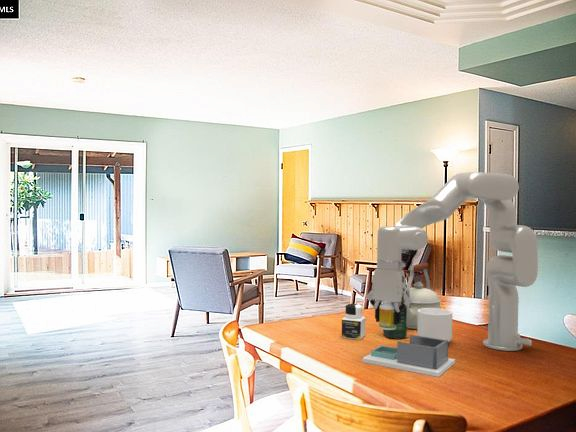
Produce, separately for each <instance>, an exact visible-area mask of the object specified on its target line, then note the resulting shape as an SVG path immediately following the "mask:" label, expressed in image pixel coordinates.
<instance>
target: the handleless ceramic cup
mask: <svg viewBox="0 0 576 432" xmlns="http://www.w3.org/2000/svg"><path fill="white" fill-rule="evenodd" d="M416 330H417V331H416V332H417V335H416V336H422V337H428V338H435V339H441V340H448V344H449V343H450V342H451V341H452V338H453V312H452V310H448V309H445V308H441V309H438V308H423V309H419V310H418V326H417V329H416Z"/></svg>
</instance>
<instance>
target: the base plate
mask: <svg viewBox="0 0 576 432" xmlns="http://www.w3.org/2000/svg"><path fill="white" fill-rule="evenodd" d="M361 362H362V363H365V364H370V365H375V366H382V367H385V368H389V369H390V368H391V369H394V370H395V369H396V370H401V371H406V372H411V373H416V374H420V375H426V376H432V377H437V378H439V377H441V376H442V375H443V374H444V373H445V372H447V371H448V370H449V369H450V368H451V367H452V366H453V365H454V364H456V359H455V358H451V357H448V360H447V361H446V362H445V363H443V364H442V365H441V366H440V367H439V368H437V369H432V368H426V367H421V366H416V365H410V364H405V363H400V362H397V347H393V346H387V345H379V346H377V347H376V348H374V349H371V351H370V353H368V354H367V355H365V356H363V357H362V358H361Z"/></svg>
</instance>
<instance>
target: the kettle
mask: <svg viewBox="0 0 576 432" xmlns="http://www.w3.org/2000/svg"><path fill="white" fill-rule="evenodd" d="M408 268H409V277H408V280H407V284H406V291H407V295H408V297H409V298H410V299H411V301H412V302H411V303H410V304H409V305H408V306H407V329H411V330H417V326H418V310H419V309H423V308H438V309H442V307H441V302H442V300H441V299H440V296H439V295H438V294H437V293H436V291H433V290H432V289H431V281H430V277H429V275H428V274H429V273H428V268H429V264H428V262H423V263H417V264H415V265H411V266H409V267H408ZM420 271H423V274H424V277H425V280H426V281H425V282H426V287H424V284H423V283H422V282H421V281H417V282H415V283H414V284H413V286H414V287H411V285H412V282H413V279H414V274H415V272H420Z"/></svg>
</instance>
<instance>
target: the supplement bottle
mask: <svg viewBox="0 0 576 432" xmlns="http://www.w3.org/2000/svg"><path fill="white" fill-rule="evenodd" d="M394 312H396V309H395V306H394V303H393V302H389V301H382V304H381V305H380V308H379V322H378V327H379V329H381V330H383V329H384V330H395V329H396V325H395V324H394Z"/></svg>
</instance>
